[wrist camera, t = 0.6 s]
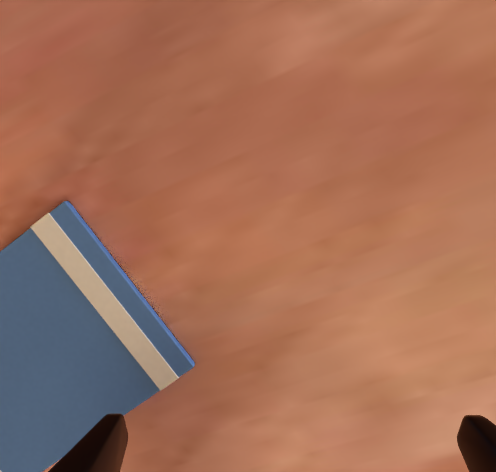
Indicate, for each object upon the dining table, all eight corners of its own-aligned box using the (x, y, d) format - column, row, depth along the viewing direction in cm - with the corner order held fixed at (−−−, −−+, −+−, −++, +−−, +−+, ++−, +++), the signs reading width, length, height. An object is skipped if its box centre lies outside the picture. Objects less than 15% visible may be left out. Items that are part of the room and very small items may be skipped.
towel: (-6, 502, 26) (-13, 510, 26) (-132, 358, 25) (-143, 363, 25) (195, 363, 24) (193, 367, 24) (69, 200, 23) (63, 200, 23)
